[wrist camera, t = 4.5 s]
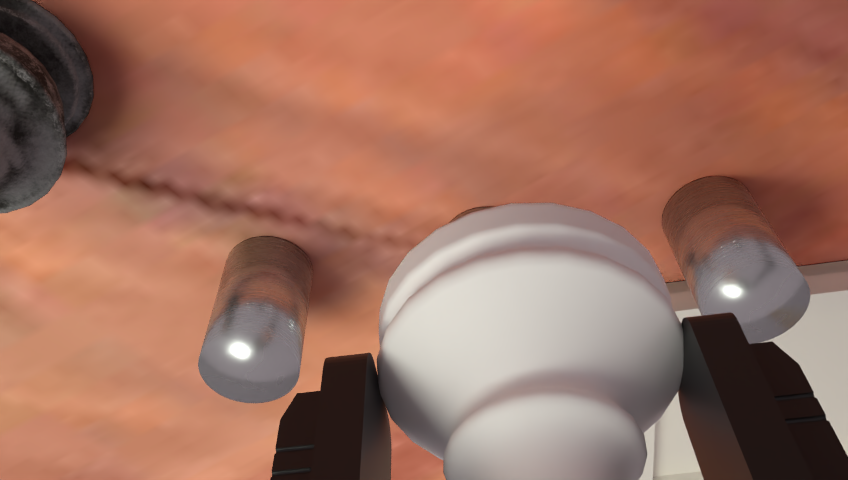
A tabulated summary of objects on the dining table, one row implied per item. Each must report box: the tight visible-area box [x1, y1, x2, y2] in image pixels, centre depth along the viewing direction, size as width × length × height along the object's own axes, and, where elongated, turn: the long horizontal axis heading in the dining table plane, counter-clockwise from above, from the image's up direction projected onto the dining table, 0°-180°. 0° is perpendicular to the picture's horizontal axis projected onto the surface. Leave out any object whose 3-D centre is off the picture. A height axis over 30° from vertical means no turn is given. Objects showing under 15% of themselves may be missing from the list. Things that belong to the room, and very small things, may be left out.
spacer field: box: [198, 176, 810, 403], centre depth 23 cm, size 19×19×5 cm
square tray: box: [639, 260, 848, 480], centre depth 33 cm, size 12×12×2 cm
